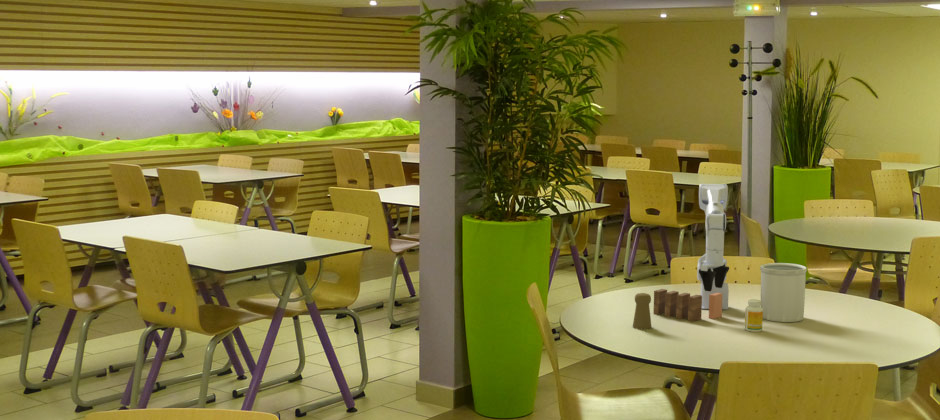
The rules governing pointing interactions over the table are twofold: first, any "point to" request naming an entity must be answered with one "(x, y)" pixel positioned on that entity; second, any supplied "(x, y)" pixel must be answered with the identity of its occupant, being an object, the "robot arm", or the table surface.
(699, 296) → the domino
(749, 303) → the supplement bottle
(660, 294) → the domino
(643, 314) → the cork
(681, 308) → the domino
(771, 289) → the utensil holder
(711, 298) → the domino
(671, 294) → the domino
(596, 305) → the table surface
